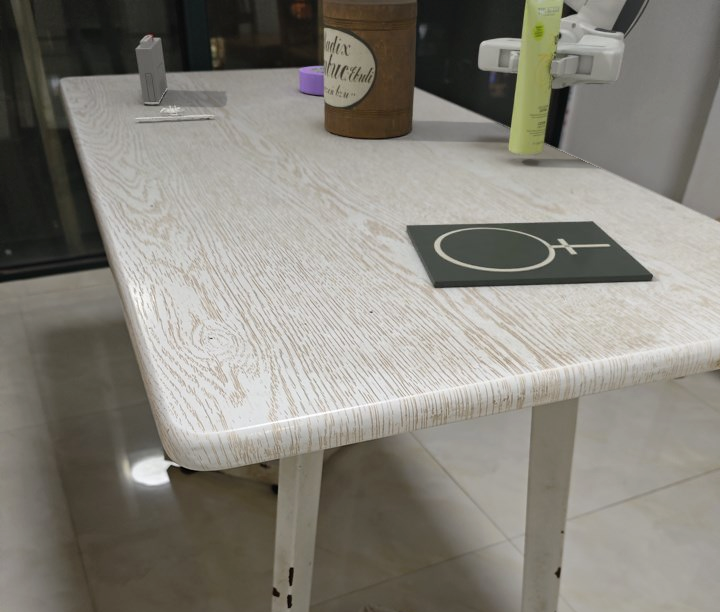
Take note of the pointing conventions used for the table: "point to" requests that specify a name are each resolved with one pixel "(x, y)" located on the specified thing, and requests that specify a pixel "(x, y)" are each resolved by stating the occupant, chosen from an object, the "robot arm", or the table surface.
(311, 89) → the tape roll
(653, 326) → the table surface
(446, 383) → the table surface
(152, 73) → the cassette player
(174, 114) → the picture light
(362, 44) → the wooden container
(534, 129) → the tube
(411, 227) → the chalkboard
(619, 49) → the robot arm
